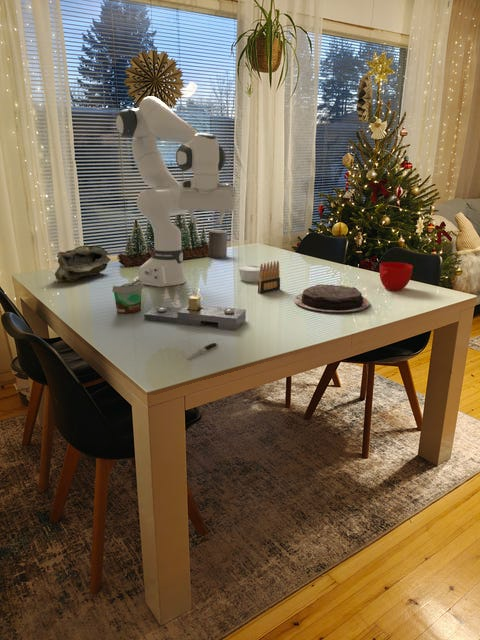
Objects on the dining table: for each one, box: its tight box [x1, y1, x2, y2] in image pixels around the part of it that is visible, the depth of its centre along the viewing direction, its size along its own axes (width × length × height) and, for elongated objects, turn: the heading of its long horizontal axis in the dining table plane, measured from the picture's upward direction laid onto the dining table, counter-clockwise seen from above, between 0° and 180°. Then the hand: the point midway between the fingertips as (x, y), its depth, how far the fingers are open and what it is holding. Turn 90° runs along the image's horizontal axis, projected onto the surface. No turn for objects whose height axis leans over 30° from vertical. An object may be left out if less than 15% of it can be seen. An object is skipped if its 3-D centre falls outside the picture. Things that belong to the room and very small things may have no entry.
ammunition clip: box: [257, 260, 281, 295], centre depth 199 cm, size 11×2×12 cm, turn 130°
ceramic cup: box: [379, 261, 414, 292], centre depth 203 cm, size 13×17×10 cm
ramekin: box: [238, 265, 261, 283], centre depth 218 cm, size 11×11×5 cm
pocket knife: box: [186, 342, 219, 361], centre depth 138 cm, size 14×1×2 cm, turn 145°
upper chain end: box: [177, 304, 247, 332], centre depth 162 cm, size 20×10×5 cm, turn 72°
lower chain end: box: [143, 305, 208, 327], centre depth 166 cm, size 20×10×3 cm, turn 72°
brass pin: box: [187, 295, 202, 312], centre depth 163 cm, size 3×3×8 cm
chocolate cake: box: [293, 283, 371, 315], centre depth 185 cm, size 28×28×7 cm
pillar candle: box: [208, 229, 228, 259], centre depth 263 cm, size 10×10×15 cm
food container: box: [112, 279, 144, 315], centre depth 172 cm, size 12×6×10 cm, turn 148°
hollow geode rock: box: [54, 245, 111, 283], centre depth 219 cm, size 28×13×15 cm
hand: (206, 223), depth 176 cm, fingers open, 8 cm apart
